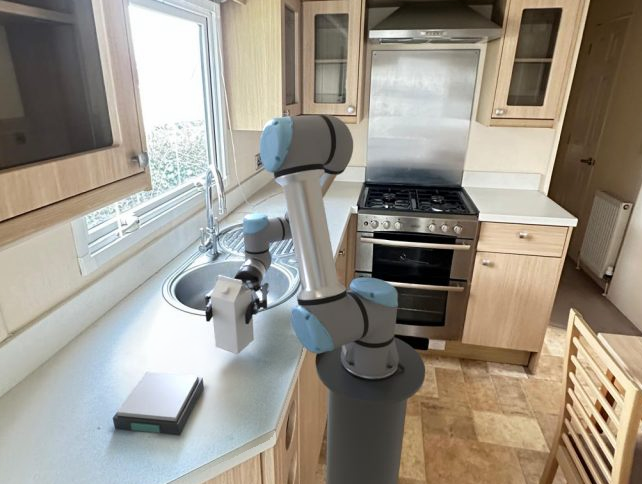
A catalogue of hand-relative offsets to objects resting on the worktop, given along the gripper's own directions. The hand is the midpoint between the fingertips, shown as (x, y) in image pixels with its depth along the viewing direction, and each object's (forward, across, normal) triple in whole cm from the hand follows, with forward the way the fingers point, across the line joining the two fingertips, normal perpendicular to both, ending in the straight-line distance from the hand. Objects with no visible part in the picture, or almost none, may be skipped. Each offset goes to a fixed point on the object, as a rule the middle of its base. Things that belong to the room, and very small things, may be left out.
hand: (226, 317), depth 98 cm
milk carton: (-5, 0, -11) cm, 12 cm away
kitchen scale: (+15, +11, -14) cm, 24 cm away
